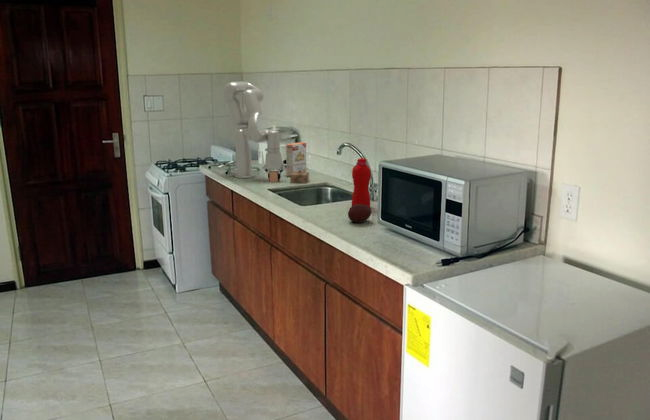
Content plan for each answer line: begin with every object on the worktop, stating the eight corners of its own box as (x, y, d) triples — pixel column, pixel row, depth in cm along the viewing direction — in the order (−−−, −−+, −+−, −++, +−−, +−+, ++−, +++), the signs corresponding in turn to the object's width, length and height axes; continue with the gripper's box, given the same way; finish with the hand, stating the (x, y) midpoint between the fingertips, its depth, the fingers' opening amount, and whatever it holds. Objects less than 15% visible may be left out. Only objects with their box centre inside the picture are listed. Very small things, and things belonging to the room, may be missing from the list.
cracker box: (293, 177, 342) (292, 144, 336) (286, 176, 345) (285, 144, 340) (306, 174, 352) (306, 142, 347) (299, 172, 356) (299, 141, 351)
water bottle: (348, 205, 270) (348, 157, 264) (369, 205, 270) (370, 157, 264) (348, 210, 261) (348, 160, 255) (370, 210, 261) (371, 160, 255)
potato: (359, 217, 249) (359, 200, 247) (377, 222, 241) (377, 204, 239) (341, 221, 242) (342, 204, 240) (359, 227, 234) (360, 208, 232)
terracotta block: (269, 181, 328) (269, 172, 327) (271, 180, 333) (270, 170, 332) (277, 181, 328) (277, 172, 326) (279, 180, 333) (278, 170, 331)
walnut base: (290, 183, 324) (290, 175, 323) (292, 179, 334) (292, 171, 333) (306, 183, 323) (306, 175, 322) (308, 180, 333) (308, 172, 332)
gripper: (258, 151, 323) (259, 180, 328) (286, 151, 321) (286, 181, 326) (261, 149, 330) (262, 178, 335) (288, 149, 328) (288, 178, 333)
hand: (274, 179), depth 330 cm, fingers closed on terracotta block, 5 cm apart
